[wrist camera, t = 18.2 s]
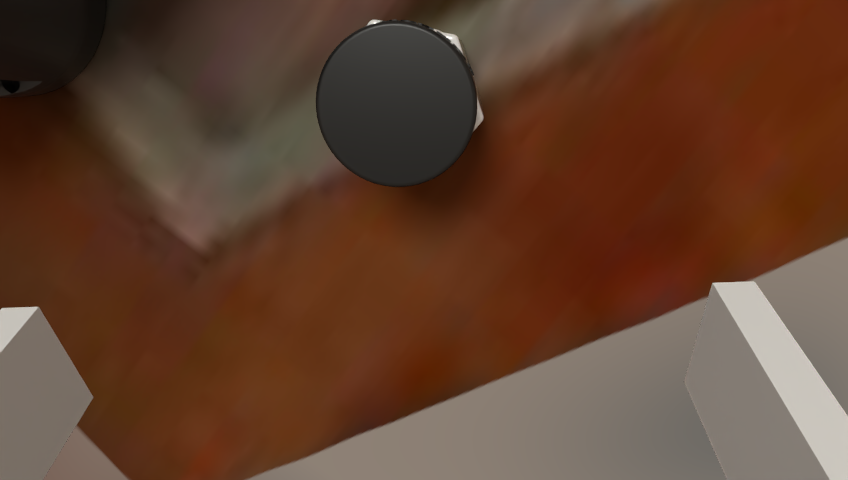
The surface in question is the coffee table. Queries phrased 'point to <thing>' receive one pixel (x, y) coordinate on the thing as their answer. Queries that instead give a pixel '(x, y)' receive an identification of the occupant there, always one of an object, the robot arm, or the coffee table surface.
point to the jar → (398, 102)
